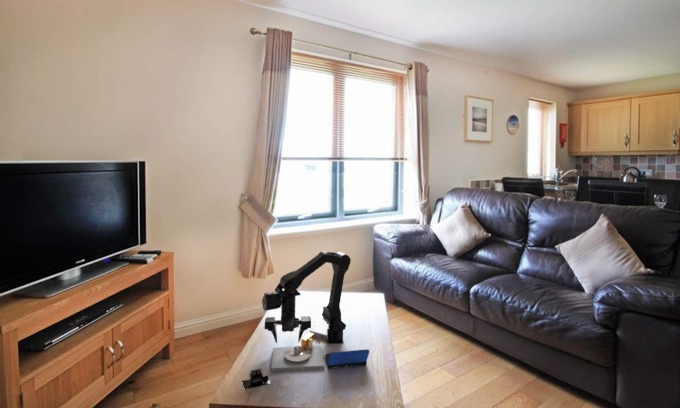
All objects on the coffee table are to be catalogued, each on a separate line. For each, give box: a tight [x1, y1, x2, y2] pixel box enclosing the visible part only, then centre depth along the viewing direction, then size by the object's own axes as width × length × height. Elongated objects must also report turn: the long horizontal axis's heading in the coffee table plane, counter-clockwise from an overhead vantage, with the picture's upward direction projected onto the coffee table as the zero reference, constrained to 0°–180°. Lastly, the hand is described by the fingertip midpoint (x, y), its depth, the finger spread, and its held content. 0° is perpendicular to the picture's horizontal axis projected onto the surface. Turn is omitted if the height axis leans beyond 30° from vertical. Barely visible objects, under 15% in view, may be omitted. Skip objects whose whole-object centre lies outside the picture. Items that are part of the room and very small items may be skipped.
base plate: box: [270, 339, 325, 373], centre depth 146 cm, size 20×15×6 cm
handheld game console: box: [324, 348, 370, 370], centre depth 144 cm, size 16×13×9 cm
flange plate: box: [284, 332, 315, 363], centre depth 148 cm, size 14×14×5 cm
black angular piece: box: [241, 368, 271, 390], centre depth 131 cm, size 12×7×5 cm, turn 112°
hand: (287, 342), depth 151 cm, fingers open, 9 cm apart
